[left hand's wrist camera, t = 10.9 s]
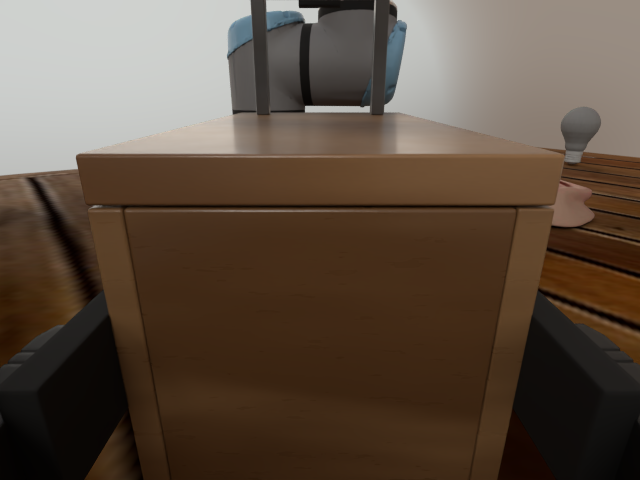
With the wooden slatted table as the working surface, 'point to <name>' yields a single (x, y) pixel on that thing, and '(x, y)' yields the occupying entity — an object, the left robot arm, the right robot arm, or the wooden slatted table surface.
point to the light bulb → (579, 131)
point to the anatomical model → (571, 206)
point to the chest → (320, 336)
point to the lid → (320, 156)
